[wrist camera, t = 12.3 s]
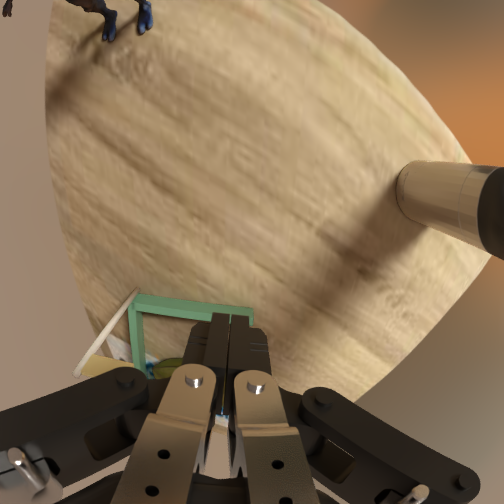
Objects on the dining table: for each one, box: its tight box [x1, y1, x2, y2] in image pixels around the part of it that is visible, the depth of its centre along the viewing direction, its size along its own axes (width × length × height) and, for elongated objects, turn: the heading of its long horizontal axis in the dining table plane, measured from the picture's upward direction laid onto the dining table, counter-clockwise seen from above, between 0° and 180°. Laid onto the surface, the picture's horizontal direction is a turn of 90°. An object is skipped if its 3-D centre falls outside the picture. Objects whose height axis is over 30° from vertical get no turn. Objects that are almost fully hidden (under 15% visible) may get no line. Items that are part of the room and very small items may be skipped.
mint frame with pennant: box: [72, 287, 254, 407], centre depth 34 cm, size 18×19×20 cm
